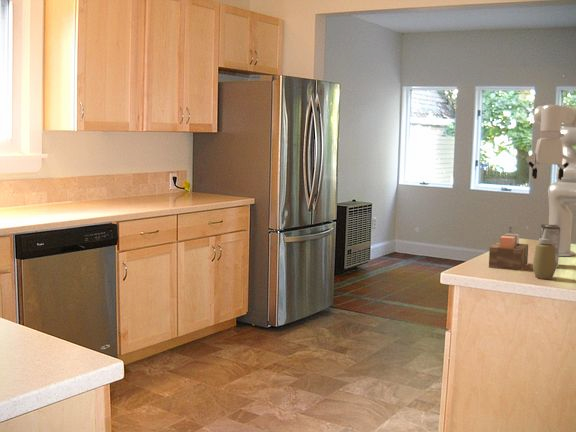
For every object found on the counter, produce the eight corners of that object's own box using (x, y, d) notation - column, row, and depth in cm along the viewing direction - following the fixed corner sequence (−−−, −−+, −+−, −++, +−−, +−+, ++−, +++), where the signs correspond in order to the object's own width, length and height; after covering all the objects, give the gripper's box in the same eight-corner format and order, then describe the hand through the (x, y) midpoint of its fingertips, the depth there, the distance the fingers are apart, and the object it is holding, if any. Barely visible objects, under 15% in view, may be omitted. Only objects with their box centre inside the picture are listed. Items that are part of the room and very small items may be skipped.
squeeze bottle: (529, 275, 267) (531, 227, 265) (551, 275, 267) (553, 227, 265) (535, 279, 259) (538, 230, 257) (558, 280, 259) (561, 230, 257)
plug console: (497, 261, 297) (497, 241, 296) (527, 263, 291) (528, 244, 290) (488, 267, 283) (489, 247, 282) (520, 270, 277) (521, 249, 276)
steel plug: (505, 247, 293) (506, 233, 292) (518, 249, 291) (519, 234, 290) (503, 249, 289) (504, 234, 288) (516, 250, 286) (516, 235, 286)
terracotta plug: (501, 250, 286) (502, 235, 285) (514, 251, 284) (515, 236, 283) (499, 252, 282) (500, 237, 281) (512, 253, 279) (513, 238, 279)
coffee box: (538, 263, 293) (540, 224, 291) (555, 263, 292) (557, 224, 290) (541, 267, 284) (543, 226, 283) (558, 268, 283) (561, 227, 281)
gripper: (570, 136, 290) (567, 179, 292) (525, 135, 292) (523, 178, 294) (575, 136, 283) (572, 180, 284) (529, 135, 285) (526, 178, 287)
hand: (547, 179), depth 289 cm, fingers open, 9 cm apart
